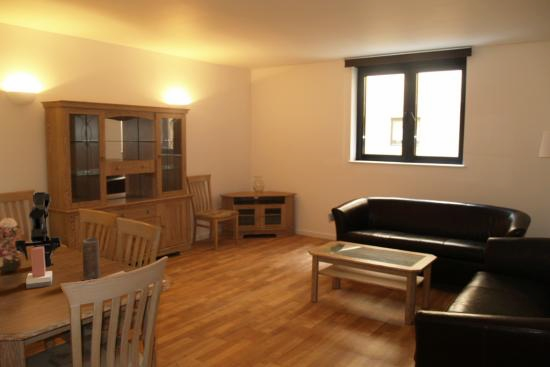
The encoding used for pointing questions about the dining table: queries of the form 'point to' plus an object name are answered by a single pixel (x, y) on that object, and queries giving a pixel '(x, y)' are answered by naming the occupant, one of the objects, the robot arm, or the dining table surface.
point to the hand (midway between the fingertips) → (38, 259)
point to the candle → (91, 258)
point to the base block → (39, 280)
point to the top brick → (38, 261)
